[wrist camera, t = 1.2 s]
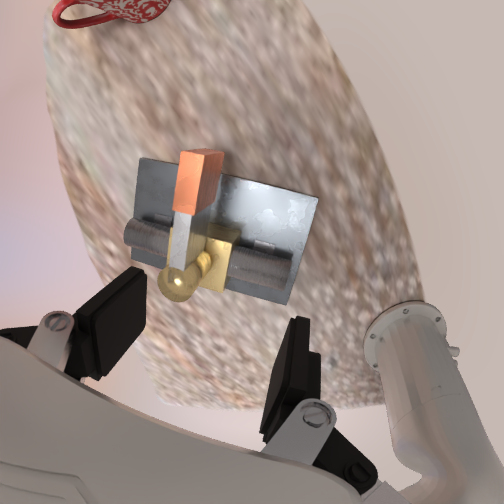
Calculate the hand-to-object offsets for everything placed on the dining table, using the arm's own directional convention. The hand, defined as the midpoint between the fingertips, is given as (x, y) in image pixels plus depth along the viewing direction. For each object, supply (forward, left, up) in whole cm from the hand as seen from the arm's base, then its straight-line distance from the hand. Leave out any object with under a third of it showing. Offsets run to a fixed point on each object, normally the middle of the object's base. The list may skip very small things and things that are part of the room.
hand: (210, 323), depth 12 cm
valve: (+6, +5, -24) cm, 25 cm away
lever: (+6, +2, -18) cm, 20 cm away
